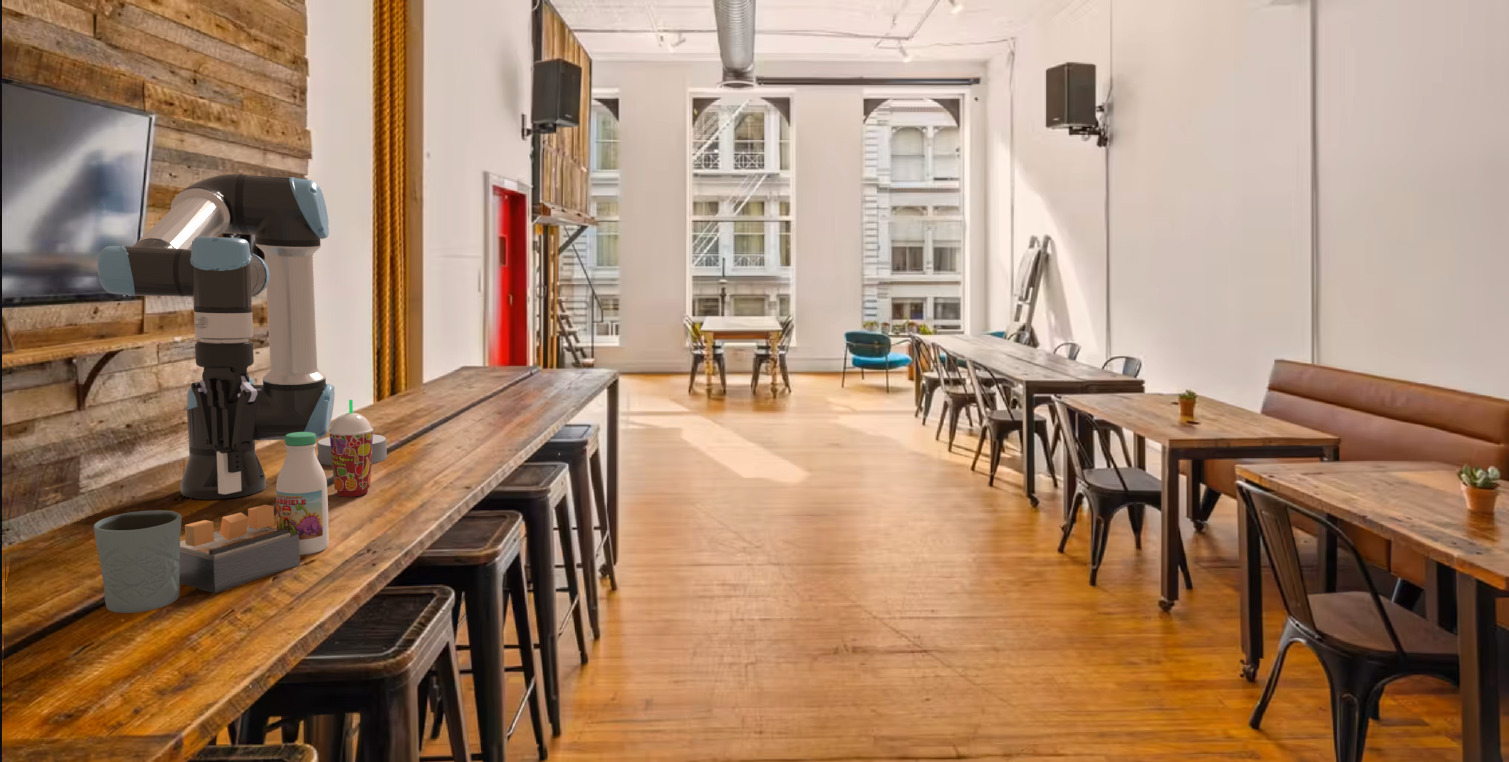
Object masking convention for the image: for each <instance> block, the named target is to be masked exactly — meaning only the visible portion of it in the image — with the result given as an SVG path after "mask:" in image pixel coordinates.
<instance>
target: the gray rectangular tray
mask: <svg viewBox="0 0 1509 762" xmlns="http://www.w3.org/2000/svg"><path fill="white" fill-rule="evenodd" d="M219 533H220V530H216V531H214V541H213V542H210V543H206V544H202V545H199V546H195V547H193V546H190V545H186V541H185V539H184V540H180V561H179V565H180V573H179V582H180V585H185V586H188V587H191V588H194V589H198V590H201V591H205V592H207V593H208V592H210V593H212V594H217V593H221V592H223V591H227V590H230V589H232V588H233V589H234V588H235V587H238V586H242V585H244V584H248V583H250V582H253V581H256V580H260V579H262V578H265V577H269V576H272V575H274V574H277V573H281V572H282V571H283V572H284V571H286V570H289V569H292V568H295V567H297V566H298V567H299V566H300V559H301V558H300V555H299V535H296V534H292V533H288V529H286V528H283V529H280V530H277V529H275V528H270V527H268V526H266V527H263V528H259V529H254V528H250V527H249V525H248V528H247V533H246V535H243V536H240V537H236V538H233V539H229V540H227V539H226V538H224V537H223V536H221V535H220V534H219Z"/></svg>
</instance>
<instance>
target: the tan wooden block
mask: <svg viewBox="0 0 1509 762" xmlns="http://www.w3.org/2000/svg"><path fill="white" fill-rule="evenodd" d="M274 507H275V506H273V505H269V504H262V505H258V506H254V507H251V508H247V517H249V523H248V525H249V527H250V528H254V529H259V528H263V527H269V526H275V508H274Z"/></svg>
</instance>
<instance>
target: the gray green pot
mask: <svg viewBox="0 0 1509 762" xmlns="http://www.w3.org/2000/svg"><path fill="white" fill-rule="evenodd" d="M93 533H94V537H95V538H94V539H95V544H96V551H97V554H98V558H99V564H100V567H101V571H100V574H101V576H102V583H103V588H104V589H103V593H104V595H103V596H104V602H105V606H106V609H107V610H108V611H110V612H114V613H120V614H130V613H131V614H133V613H134V614H136V613H143V612H147V611H153V610H157V609H161V608H163V607H166V606H168V605H171V604H173V603H174V602H176V601H177V600H178V599H179V597H180V590H181V589H180V588H181V586H180V585H181V584H180V582H179V573H180V565H179V561H180V541H181V533H182V514H181V513H180V512H177V511H173V510H162V509H161V510H159V509H158V510H141V511H132V512H127V513H121V514H116V515H112V516H109V517H105V518H103V519H100V520H99V521H97V522H95V523H94V524H93Z"/></svg>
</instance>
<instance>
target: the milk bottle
mask: <svg viewBox="0 0 1509 762" xmlns="http://www.w3.org/2000/svg"><path fill="white" fill-rule="evenodd" d="M284 443H285V446H284V447H285V449H286V455H285V459H284V462H283V464H282V465H281V469H280V471H279V472H278V475H277V479H276V484H275V485H276V488H275V491H276V493H275V500H276V502H275V503H276V505H275V506H276V507H275V508H276V513H275V514H276V530H280V529H283V528H286V529H288V533H292V534H296V535H299V556H304V555H311V554H312V555H313V554H316V553H319V552H322V551H324V550H326V549H327V548H328V546H329V544H330V543H329V540H330V539H329V537H330V535H329V505H328V504H329V501H328V499H329V498H328V497H329V496H328V482H327V478H326V477H327V476H326V474H325V470H324V469H323V467H322V464H321V463H319V461H318V456H317V454H316V451H315V450H316V449H315V447H317V439H316V435H315V433H311V432H295V433H289V434H287V435H286V436H285V440H284Z"/></svg>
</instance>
